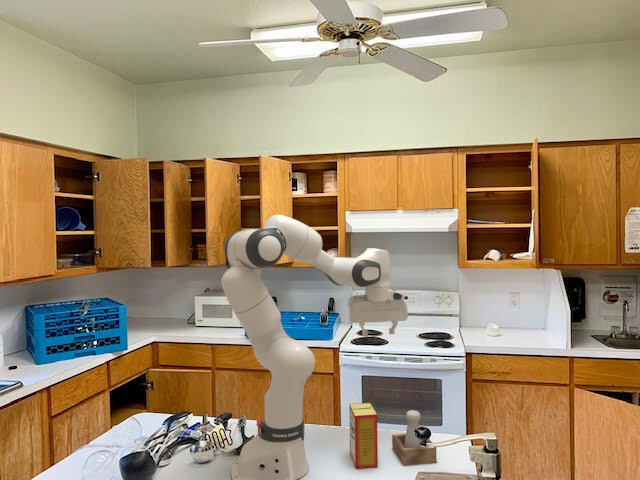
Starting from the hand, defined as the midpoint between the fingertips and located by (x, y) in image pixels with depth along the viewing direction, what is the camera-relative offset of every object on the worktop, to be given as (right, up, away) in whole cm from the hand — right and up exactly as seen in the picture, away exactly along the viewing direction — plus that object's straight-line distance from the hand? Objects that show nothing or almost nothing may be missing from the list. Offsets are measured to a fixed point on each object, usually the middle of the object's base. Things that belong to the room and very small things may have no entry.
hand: (378, 334), depth 153 cm
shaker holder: (+9, -34, -16) cm, 39 cm away
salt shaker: (+9, -34, -15) cm, 38 cm away
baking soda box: (-7, -35, -18) cm, 40 cm away
